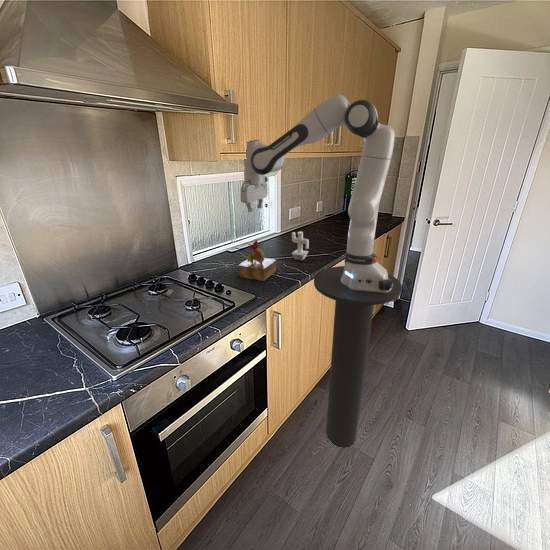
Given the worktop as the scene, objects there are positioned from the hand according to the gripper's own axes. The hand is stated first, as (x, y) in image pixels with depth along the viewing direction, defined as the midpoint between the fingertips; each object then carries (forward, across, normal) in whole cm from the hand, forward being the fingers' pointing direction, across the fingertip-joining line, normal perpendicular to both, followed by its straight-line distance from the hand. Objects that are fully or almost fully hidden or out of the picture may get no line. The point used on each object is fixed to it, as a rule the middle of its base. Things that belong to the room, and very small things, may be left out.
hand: (255, 209), depth 139 cm
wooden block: (+29, -8, -5) cm, 31 cm away
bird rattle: (+23, -8, -4) cm, 25 cm away
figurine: (+29, +20, -16) cm, 39 cm away
